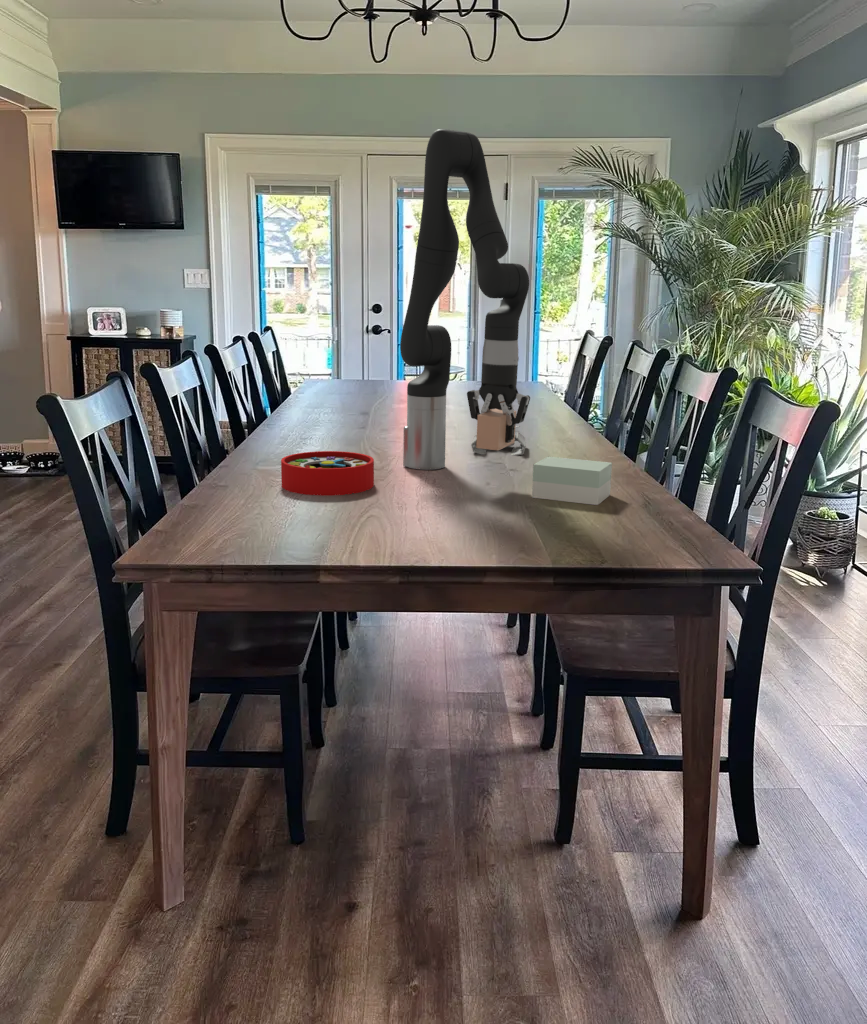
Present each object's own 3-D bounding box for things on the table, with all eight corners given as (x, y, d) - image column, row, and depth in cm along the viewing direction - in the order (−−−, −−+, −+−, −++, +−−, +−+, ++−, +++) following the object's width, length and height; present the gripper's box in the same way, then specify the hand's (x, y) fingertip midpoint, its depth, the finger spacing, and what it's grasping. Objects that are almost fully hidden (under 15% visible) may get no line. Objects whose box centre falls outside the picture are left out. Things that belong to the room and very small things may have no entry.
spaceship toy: (470, 457, 237) (471, 432, 236) (474, 443, 257) (475, 420, 255) (525, 459, 236) (526, 434, 234) (525, 445, 255) (526, 422, 254)
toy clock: (261, 462, 198) (318, 447, 214) (262, 488, 199) (318, 472, 216) (338, 473, 188) (391, 457, 205) (338, 501, 190) (391, 483, 206)
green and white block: (531, 497, 194) (533, 464, 192) (546, 487, 203) (548, 456, 201) (597, 505, 188) (599, 471, 187) (610, 495, 197) (612, 462, 195)
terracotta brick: (476, 447, 197) (477, 415, 195) (493, 440, 206) (494, 408, 204) (498, 450, 195) (499, 417, 193) (514, 442, 204) (516, 410, 202)
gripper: (461, 360, 195) (458, 440, 200) (526, 365, 189) (521, 447, 194) (475, 357, 202) (472, 434, 206) (538, 362, 196) (533, 441, 201)
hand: (496, 440), depth 200 cm, fingers closed on terracotta brick, 5 cm apart
